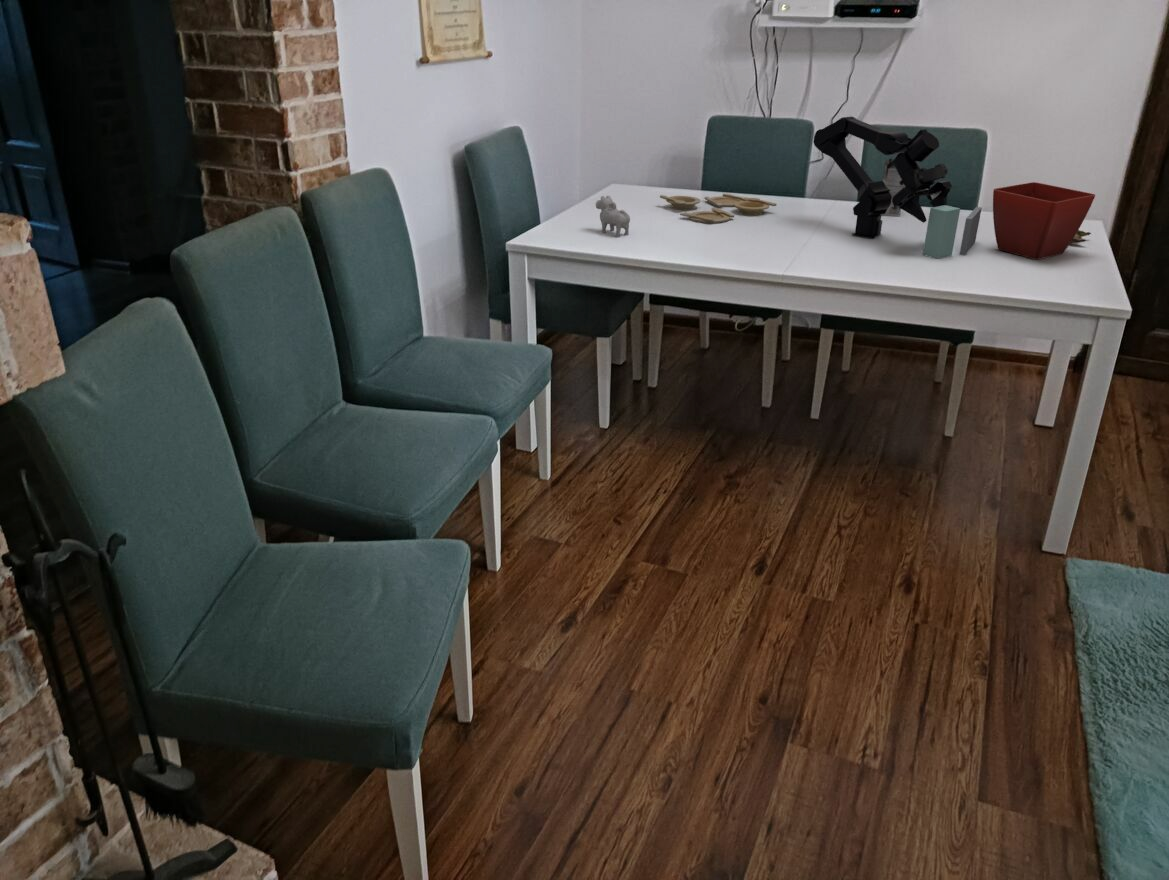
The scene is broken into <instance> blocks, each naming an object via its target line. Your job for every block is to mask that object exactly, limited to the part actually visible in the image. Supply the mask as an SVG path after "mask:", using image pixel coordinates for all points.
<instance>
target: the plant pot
mask: <svg viewBox="0 0 1169 880" xmlns="http://www.w3.org/2000/svg"><path fill="white" fill-rule="evenodd" d="M992 194H993V195H992V197H993V198H992V215H993V217H992V218H993V229H994V235H995V242H996V245H997V246H996V247H997V249H998V250H999V251H1004V252H1008V253H1012V254H1015V255H1018V256H1022V257H1025V258H1029V259H1031V260H1041V259H1045V258H1050V257H1054V256H1057V255H1058V256H1059V255H1062V254H1064V252H1065V251H1066V250H1067V249H1068V247H1069V245H1070V244H1071V243H1070V242H1071V241H1072V239H1073V238H1074V236H1075V235H1076V233H1077V231H1078V230H1079V229H1080V228H1081V226H1082V224H1083V222H1084V221H1085V218H1086V217H1087V215H1088V213H1089V211H1090V209H1091V207H1092V204H1093V201H1094V200H1095V197H1096V193H1095V194H1094V193H1090V192H1085V191H1080V190H1077V189H1071V188H1066V187H1061V186H1057V185H1051V184H1048V183H1047V184H1046V183H1041V182H1035V181H1034V182H1033V181H1032V182H1026V183H1019V184H1015V185H1009V186H1003V187H996V188H993V193H992ZM1079 231H1080V230H1079Z"/></svg>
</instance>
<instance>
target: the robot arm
mask: <svg viewBox="0 0 1169 880" xmlns="http://www.w3.org/2000/svg"><path fill="white" fill-rule="evenodd" d="M850 135H851V136H854V137H855V138H858V139H861V140H863V141H865V142H867V143H870V144H872V145H873V146H874V148H875V149H876V150H877V151H878V152H879V153H881V154H883V155H884V156H891V155H896V156H894V157H891V158H889V159H888V160H889V163H888V165H887V169H890V168H895V169H896V170H897V172H898V174H899V176H900V178H901V181H900V182H899V183H900V185H905V187H904V188H902V189H901V190H900V191H899V192H898V193H897V194H896V195H894V196H893V198H892V196H891V194H890V192H889V191H890V189H888V188H887V187H886V185H885V184H884V182H883V180H879V181H874V180H873V179H872V178H871V177H870V176H869V174H868V173H867V172H866V171H865V170H864V168H863V167H862V165H860V163H859V162H858V161H857V159H856V158H855V157H854V156H853V154H852V153H851V152H850V151H849V149H848V148H847V143H846V141H847V140H846V138H848V136H850ZM813 145H814V147H815V148H816V149H817V150H818V151H820V152H821V153H822V154H824V155H825V156H828V157H830V158H831V159H832V160H833V161H834V162H835V164H836V165H837V166H838V167H839V168H840V170H841V171H842V173H843V174H844V176H845V177H846V178H847V179H848V180H849V181H850V183H851V184H852V185H853V187H854V188H855V190H856V191H857V198H858V201H859V202H858V203H857V204H855V205H854V206H853V207H852V210H853V215H854V216H856V221H855V224H856V225H855V228H854V229H855V230H854V232H853V233H852V236H854V237H862V238H867V239H874V238H876V237H879V236H881V235H882V233H881V232H882V227H883V226H882V225H883V220H882V216H881V214H885V213H886V211H887V209H888V207H889V206H890V204H891V198H892V203H893V205H894V207H899V209H901V211H904V212H906V213H908V214H909V215H910V216H912V217H914V218H916V219H917V220H919V221H920V222H922V223H923V224H924V223H926V222H927V218H926V215H925V213H924V210H923V209H922V206H921V204H920V198H922V197H923V198H924V197H927V200H929V204H930V205H931V206H932V207H938V206H943V205H947V206H948V200H947V199H948V198H947V197H948V194H950V192H951V189H953V185H952V183H951V181H950V180H941V181H937V180H939V179H945V178H946V175H947V174H948V171H949V170H948V168H947V166H946V165H945V163H939V164H936V165H935V166H934V167H930V168H928V169H926V168H925V167H923V168H921V165H920V164H919V162H920V163H922V162H924V161H925V160H926V159H928V158H929V156H931V155H932V154H933V153H934V152H935V151H936V150H938V148H939V147H940V141H939V140H938V138H937V137H936V136H935V135H933V134H932V133H930V132H929V131H927V129H925V128H924V129H920V130H918V132H917V133H916V135H915V136H913V137H912V138H911V137H909V136H908V134H907V133H906V132H903V131H896V130H886V129H882V128H879V127H877V126H875V125H872V124H869V123H867V122H865V121H862V120H860V119H858V118H856V117H854V116H844V117H840V118H839V119H837V120H836V121H835V122H833V123H830V124H829V125H827V126H825V127H824V128H822V129H821V128H819V129H818V130H817V131H815V133H814V136H813ZM935 181H937V182H935Z"/></svg>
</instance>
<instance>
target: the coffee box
mask: <svg viewBox="0 0 1169 880" xmlns="http://www.w3.org/2000/svg"><path fill="white" fill-rule="evenodd" d="M888 163H889V159H888V160H885V164H884V170H883V175H882V181H883V182H884V184H885V185H886V187H887V188H888V189H890V191H889V192H890V194H891V196H892V198H893V196H894V195H896V194H897V193H898V192H899V191H900V190H901V189H902V188H904V187H905V185H900V183H899V182H900V181H901V178H900V176H899V174H898V172H897V170H896V169H895V168H890V169H887V165H888ZM892 198H891V204H890V206H889V207H888V209H887V211H886V213H885V214H881V217H882V216H883V217H884V216H885V217H901V212H902V209H899V207H894V205H893V203H892Z"/></svg>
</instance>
